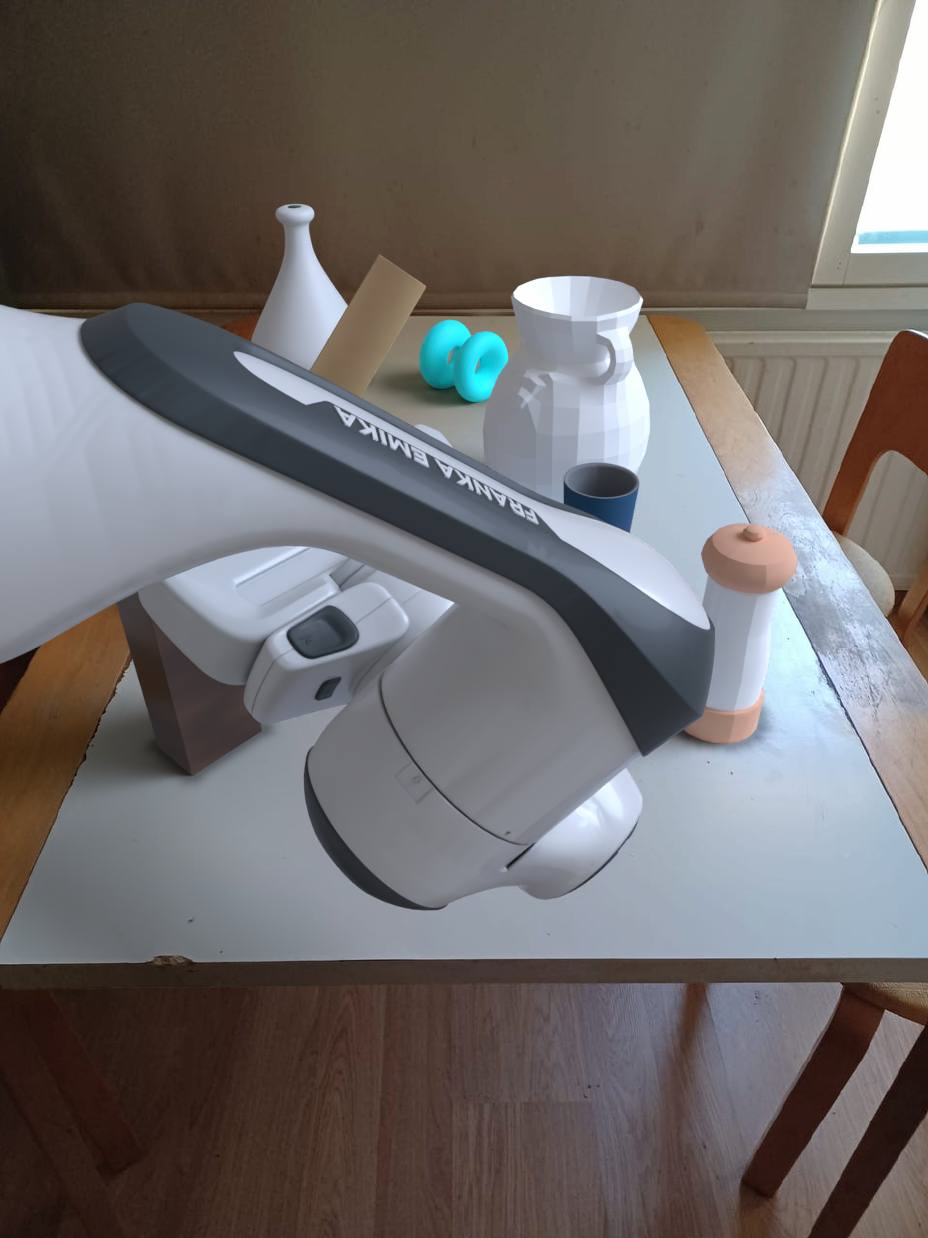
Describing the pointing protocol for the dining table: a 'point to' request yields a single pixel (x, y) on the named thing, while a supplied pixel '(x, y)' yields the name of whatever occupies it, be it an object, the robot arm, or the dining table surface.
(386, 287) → the scrub brush
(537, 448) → the pitcher
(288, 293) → the vase
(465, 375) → the donuts
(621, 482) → the cup
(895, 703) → the dining table surface
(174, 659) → the shelf post
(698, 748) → the dining table surface
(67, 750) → the dining table surface
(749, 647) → the pepper shaker
